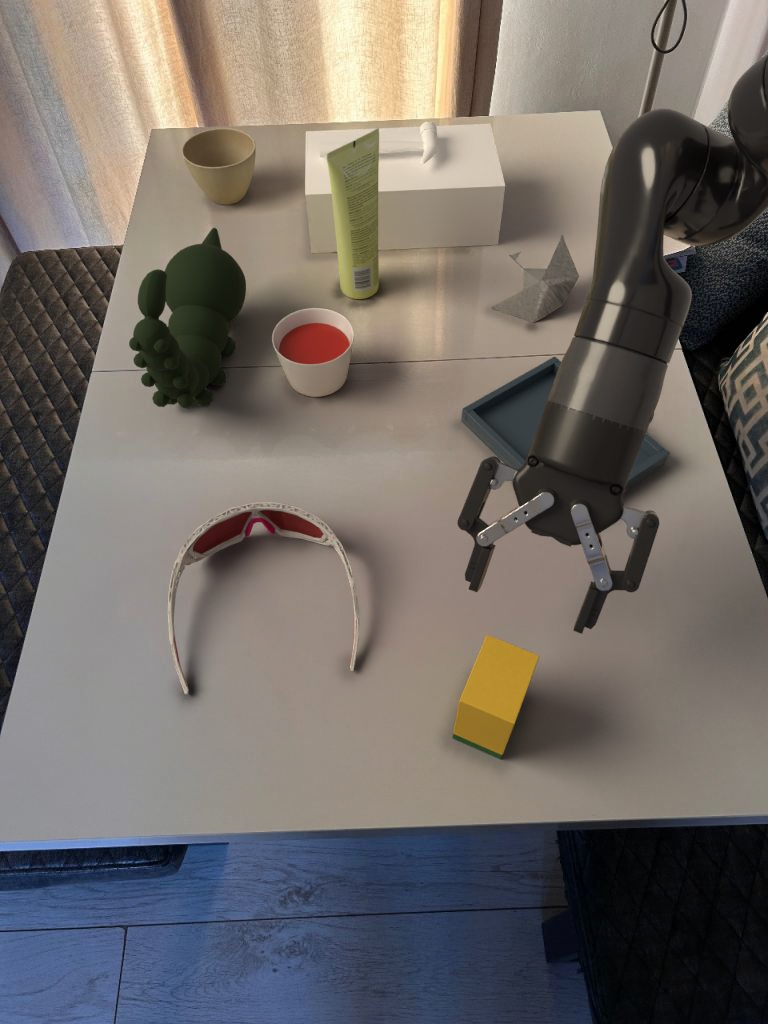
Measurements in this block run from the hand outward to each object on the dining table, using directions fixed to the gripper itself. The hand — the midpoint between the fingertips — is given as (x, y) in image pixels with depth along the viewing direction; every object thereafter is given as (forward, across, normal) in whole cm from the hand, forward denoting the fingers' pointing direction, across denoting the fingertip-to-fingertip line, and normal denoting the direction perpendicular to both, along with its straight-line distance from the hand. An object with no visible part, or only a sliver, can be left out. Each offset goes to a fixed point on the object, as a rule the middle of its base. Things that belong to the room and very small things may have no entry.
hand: (525, 609), depth 60 cm
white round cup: (-10, -32, +25) cm, 42 cm away
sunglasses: (+10, -23, +5) cm, 26 cm away
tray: (-11, -4, +26) cm, 29 cm away
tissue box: (-32, -36, +48) cm, 68 cm away
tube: (-21, -34, +37) cm, 55 cm away
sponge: (+12, 0, +4) cm, 12 cm away
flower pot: (-28, -61, +44) cm, 80 cm away
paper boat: (-26, -13, +42) cm, 51 cm away
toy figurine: (-8, -46, +23) cm, 52 cm away
